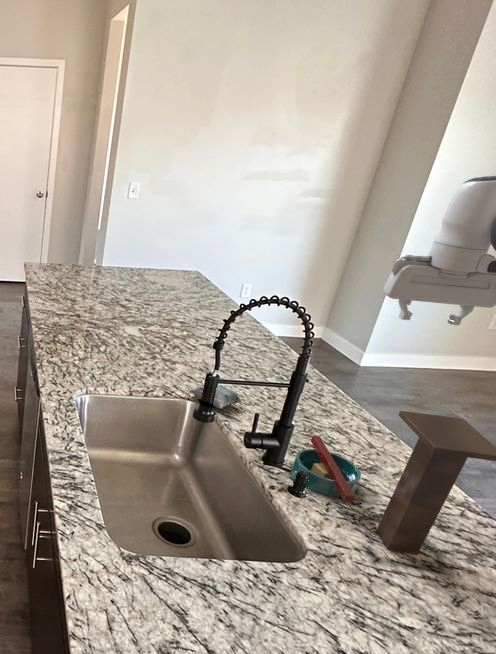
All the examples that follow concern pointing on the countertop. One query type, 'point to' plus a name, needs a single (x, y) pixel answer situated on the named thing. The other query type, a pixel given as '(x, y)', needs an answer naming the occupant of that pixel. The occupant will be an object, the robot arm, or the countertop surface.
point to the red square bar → (333, 469)
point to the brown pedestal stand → (429, 477)
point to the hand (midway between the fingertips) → (428, 321)
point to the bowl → (323, 484)
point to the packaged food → (218, 396)
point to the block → (320, 470)
